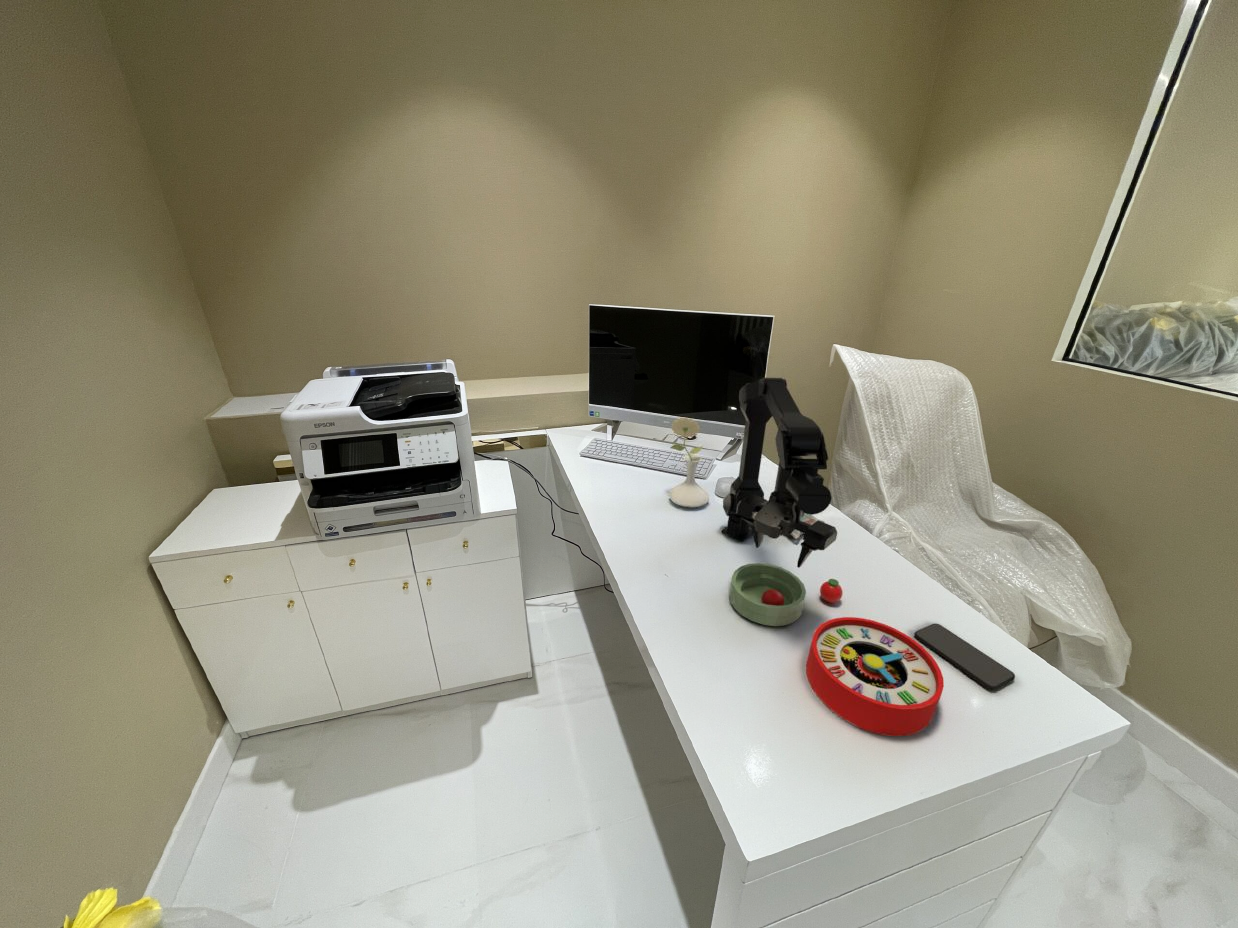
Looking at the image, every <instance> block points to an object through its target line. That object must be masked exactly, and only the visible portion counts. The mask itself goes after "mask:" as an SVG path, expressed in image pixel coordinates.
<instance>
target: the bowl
mask: <svg viewBox="0 0 1238 928" xmlns="http://www.w3.org/2000/svg"><path fill="white" fill-rule="evenodd" d="M731 575H732V576H731V580H730V586H729V593H728V595H729V602H730V603H731V605H732V607H733V609H734V610H735V611H737V612H738V613H739V615H741V616H742V617H744V618H746V619H748V620H749V621H752V622H754V623H757V624H760V625H764V626H770V627H782V626H788V625H790V624H793V623H795V622H797V620H799V618H801V616H802V612H803V608H804V604H805V600H806V594H807V590H806V587H805V584H804V583H803V582H802V580H801V579H800V578H799V577H798V576H797V575H795V574H794V573H793V572H791V571H790V570H788V569H786V568H783V567H781V566H778V565H775V564H770V563H763V562H755V563H747V564H743V565H741V566H739V567H738V568H737V569H735V570H734V571H733V573H732V574H731ZM771 589H773V590H777V591H779V592H780V593H781V594H782V596H783V598H784V605H782V606H775V605H767V604H763V603H762V600H761V599H762V595H763V594H764V592H766V591H767V590H771Z"/></svg>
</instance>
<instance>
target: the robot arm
mask: <svg viewBox="0 0 1238 928" xmlns="http://www.w3.org/2000/svg"><path fill="white" fill-rule="evenodd" d="M738 401H739V408H740V411H741V412H742V415H743V417H744V418H745V422H744V431H743V437H742V438H743V439H742V446H741V456H740V464H739V471H738V476H737V477H736V478H735V480H734V481H733V482H732V483H731V484H730V488H729V493H727V495H725V497H723V499H722V509H723V510H724V513H725V515H726V517H728V518H727V523H726V524H727V525H726V527H724V528H722V529H721V531H720V532H721V533H722V534H724V535H726V536H728V537H730V538H733V539H735V540H736V541H739V542H741V543H743V542H745V541H746V540H748V539H749V538H750V537H751V536H752V538H753V541H754V544H755V545H754V546H755V548H757V549H759V548H760V547H761V545H762V543H763V540H764V539H763V538H764V535H765V536H767V537H769V538H770V539H773V540H774V539H775V540H776V539H778V538H779V537H780V536H783V535H784V536H787V537H790V536H791V535H790V534H791V533H792V532H793V531H794V529H795V530H798V531H800V532H802V533H803V536H802V540H803V541H802V542H800V546H801V549H800V552H799V556H798V558H797V564H796V567H797V569H800V568H801V567H803V565H804V563H805V562H806V560H807V559H808V558H809V557H810V555H811V554H812V552H817V551H825V550H827V548H828V547H829V546H831V545H832V544H833V543H834V542H836V540H837V537H838V530H837V527H836V526H833V525H831V524H829V523H826V522H825V521H824V522H825V523H824V522H821V521H819V520H820V519H819V520H818V521H816V522H815V523H814V524H812V525H810V524H808V523H805V522H803V521H801V518H802V517H803V516H804V514H805V513H806V514H810V515H813V516H814V515H817V514H821V513H823V511H825V510H826V509H828V508H829V506H830V504H831V502H832V499H833V497H832V493H831V491H830V489H829V488H828V487H827V486H826V485H825V484H824V481H825V480H824V479H825V478H824V477H823V476H822V475H821V474H819V473H818V472H819V471H820V470H821V471H822V470H827V469H828V464H827V463H828V462H827V461H828V460H829V456H828V451H827V450H828V449H827V445H826V440H825V435H824V432H822V429H821V428H820V426H819V425H818V423H816V421H814V419H811V418H810V417H808V416H806V415H804V414H803V413H801V411H800V409H799V407H798V405H797V403H796V402H795V399H794V398H793V396H792V394H791V392H790V391H789V388H788V382H787V379H786V378H783V377H763V378H760V379H759V380H757V381H753V382H748V383H747V382H746V383H745V385H743V386H742V387H740V390H739V392H738ZM772 418H773V421H774V423H775V425H776V427H777V431H776V435H775V437H774V438H775V446H776V452H777V457H778V460H779V462H778V467H777V472H776V479H775V484H774V490H773V491H772V492H770V495H769V497H768V500H767V499H766V498H765V493H764V490H763V488H762V486H761V484H760V482H759V478H760V471H761V464H762V457H763V449H764V443H765V441H764V440H765V434H766V429H767V423H768V422H769V421H770V420H771V419H772ZM804 457H816V458H804Z"/></svg>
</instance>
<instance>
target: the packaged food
mask: <svg viewBox="0 0 1238 928" xmlns="http://www.w3.org/2000/svg"><path fill="white" fill-rule="evenodd" d="M818 520H819V521H821V522H824V523H826V522H825V520H821V519H818V518H817V517H816V516H814V515H810V514H806V513H805V514H804V516H803V517H802V518H801V521H803V522H805V523H808V524H810V525H812V524H814V523H815V522H816V521H818ZM802 535H804V533H802V532H800V531H798V530H795V529H794V531H793V532H792V533H791V534H790V535H789V536H792V537H793V538H794V539H795V540H797V539H799V538H800V536H802Z"/></svg>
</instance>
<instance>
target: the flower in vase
mask: <svg viewBox="0 0 1238 928" xmlns="http://www.w3.org/2000/svg"><path fill="white" fill-rule="evenodd" d="M699 425H700V424H699V422H698V421H696V420H693V418H691V417H690V418H688V417H684V418H683V416H680V417H679V418H676V419H675V420H673V422H672V423H671V424H670V428H671V431H673V434H675V435H677V436H680V437H682V438H683V445H681V444H679V443H676V444H675V443H674V444H672V445H671V446H670V449H673V450H676V451H679V452H682V451H684V450H685V452H686V453H687V454H684V456H683V460H684V461H685V464H686V478H685V480H684V482H682V483H679V484H678V485H675V486H674V487H673V488H672V489H670V492H669V494H668V497H669V499H670V500H671V502H672V503H674V504H675V505H678V506H680V507H685V508H699V507H702V506H705V505H706V504H707V503H708V502H709V500H710V496H709V494H708V491H706V489H704V488H703V487H702V486H700V485H699V484H698V483H697V482H696V470H697V467H698V464H699V463H700V462H701V461H702V457H701V456H700V455H698V453H699V452H700V451H702V449H703V445H702V446H697V447H693V448H692V449H691V450H690V451H688V449H687V447H686V438H689V437H690V438H692V437H693V436H694V437H696V436H698V434H699V433H700V432H701V427H700V426H699Z"/></svg>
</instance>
